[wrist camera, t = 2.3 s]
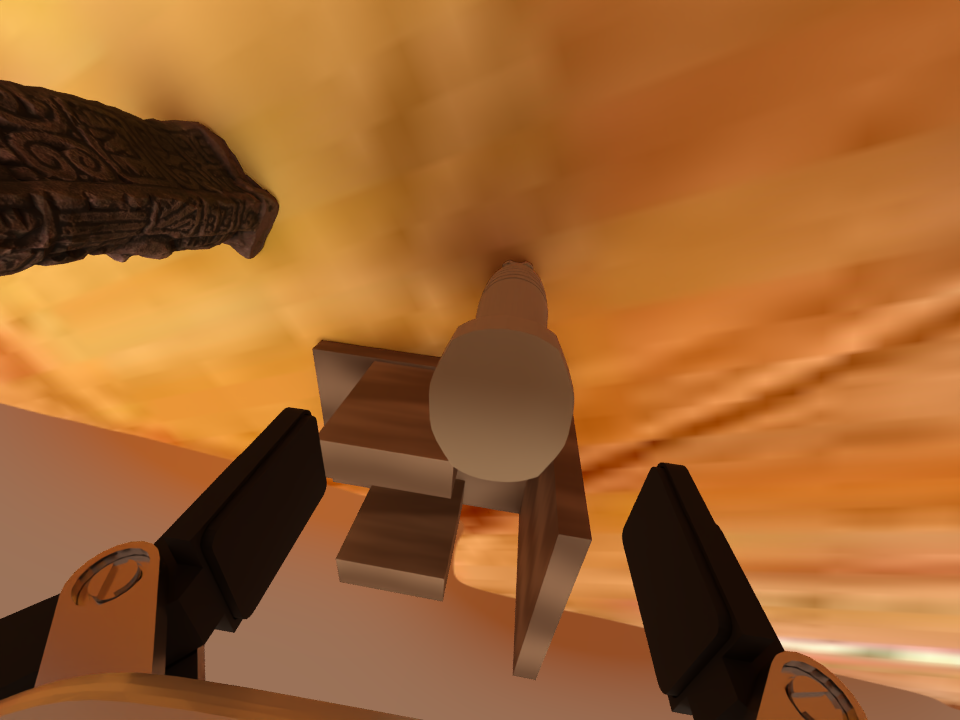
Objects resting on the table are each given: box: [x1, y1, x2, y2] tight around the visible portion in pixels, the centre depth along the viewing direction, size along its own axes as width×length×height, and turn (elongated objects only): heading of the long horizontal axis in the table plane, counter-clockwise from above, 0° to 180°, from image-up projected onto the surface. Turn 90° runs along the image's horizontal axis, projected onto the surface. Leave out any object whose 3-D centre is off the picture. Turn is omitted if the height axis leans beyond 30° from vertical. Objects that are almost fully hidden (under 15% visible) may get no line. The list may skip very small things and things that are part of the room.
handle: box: [429, 260, 574, 482], centre depth 19 cm, size 5×6×15 cm
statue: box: [0, 80, 279, 276], centre depth 16 cm, size 7×7×20 cm
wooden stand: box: [313, 340, 592, 680], centre depth 27 cm, size 15×20×14 cm
